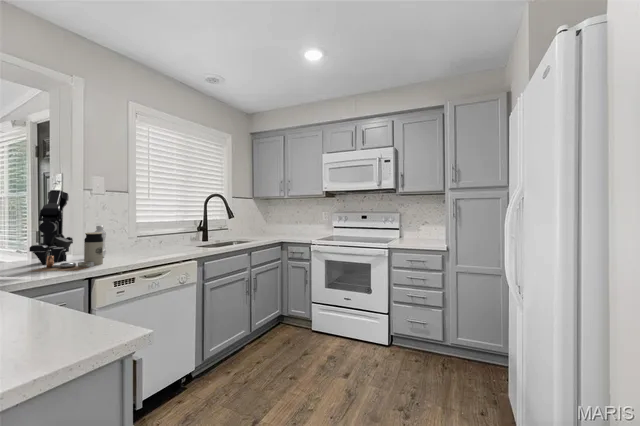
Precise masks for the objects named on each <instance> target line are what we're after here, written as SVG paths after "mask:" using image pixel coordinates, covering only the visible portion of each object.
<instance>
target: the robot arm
mask: <svg viewBox="0 0 640 426" xmlns="http://www.w3.org/2000/svg"><path fill="white" fill-rule="evenodd" d="M47 200H48V201H47V203H46V204H45V205H42V208H41V209H40V211H39V217H38V222H41V223H40V224H39V226H38V230H39V232H40V233H42V234H40V237H41V238H42V242H40V244H35V245H31V246H29V248H28V249H29V250H28V252H31V253H32V254H34V255H35V256H36V257H37V259H38V260H39V262H40V264H41V265H42V266H46V262H47V256H54V264H57V263H59V262H60V263H61V262H63V263H64V262H67V254H66V253H69V252H70V247H71V245H73V243H74V242H73V241H74V240H73V237H71V236H67V237H65V235H64V234H63V226H64V225H63V224H64V208H65V207H66V206H67V205H68V202H69V193H68V192H65V191H63V190H61V189H59V190H58V189H51V190H50V191H49V192H47Z"/></svg>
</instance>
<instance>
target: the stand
mask: <svg viewBox="0 0 640 426" xmlns="http://www.w3.org/2000/svg"><path fill="white" fill-rule="evenodd" d="M92 267H95V265H94V262H84V261H79V262H77V265H76V267H70V268H60V267H49V268H47V267H46V266H44V267H41V268H36V269H33V270H29V271H27V273H28V272H30V273H31V272H39V273H41V272H43V273H44V272H79V271H82V270H86V269H89V268H92Z"/></svg>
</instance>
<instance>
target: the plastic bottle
mask: <svg viewBox="0 0 640 426" xmlns="http://www.w3.org/2000/svg"><path fill="white" fill-rule="evenodd" d="M94 232H102V238H103V258H104V257H106V254H107V251H106V250H107V249H106V244H105V243H106V236H107V234H106V232H105V230H104V225H96V228H95V231H94Z"/></svg>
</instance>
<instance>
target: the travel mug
mask: <svg viewBox="0 0 640 426" xmlns="http://www.w3.org/2000/svg"><path fill="white" fill-rule="evenodd" d="M83 241H84V247H83V250H84V251H83V253H84V255H83V262H94V266H101V265H103V263H104V261H103V260H104V257H103V238H102V232H95V231H94V232H85V238H84V240H83Z"/></svg>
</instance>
